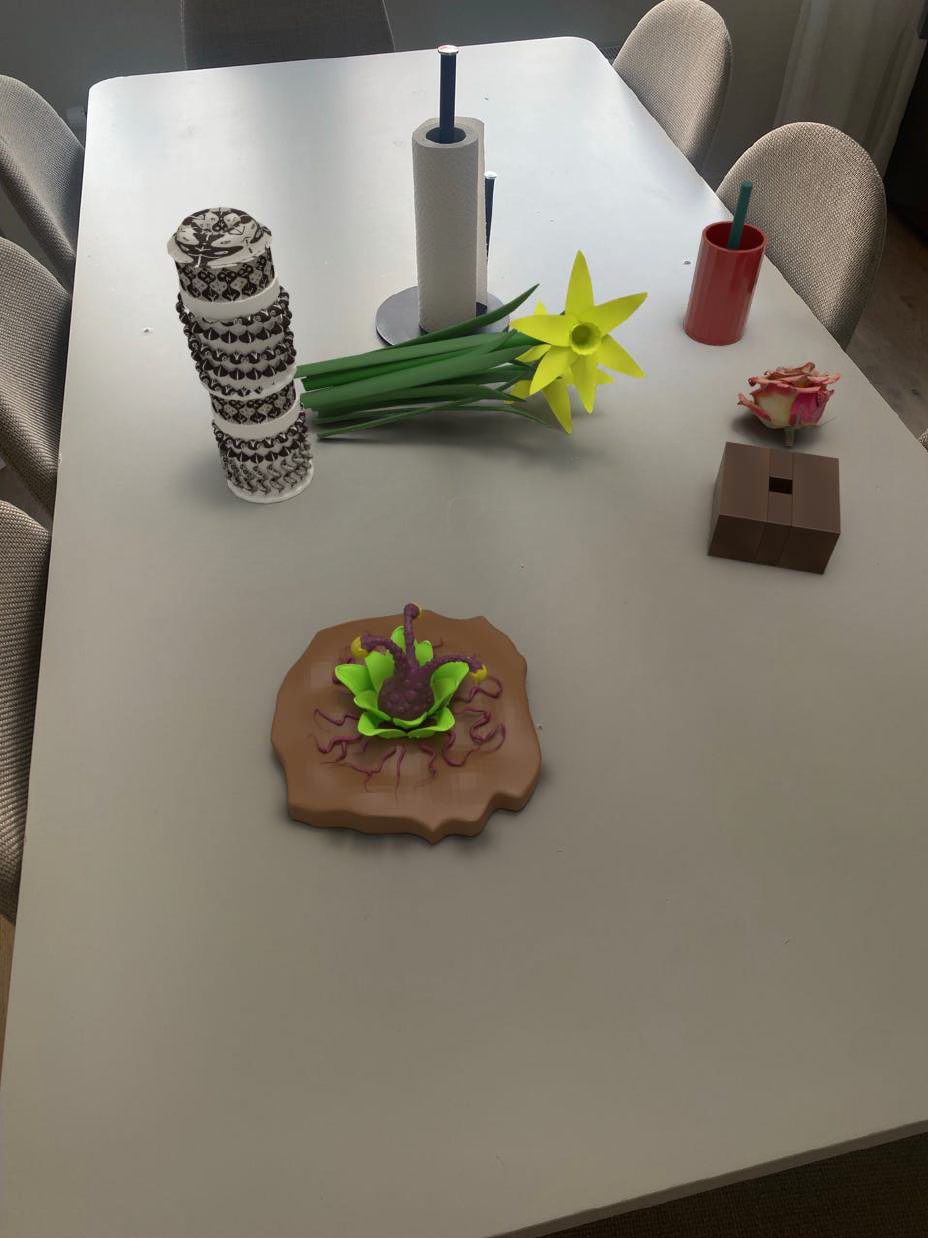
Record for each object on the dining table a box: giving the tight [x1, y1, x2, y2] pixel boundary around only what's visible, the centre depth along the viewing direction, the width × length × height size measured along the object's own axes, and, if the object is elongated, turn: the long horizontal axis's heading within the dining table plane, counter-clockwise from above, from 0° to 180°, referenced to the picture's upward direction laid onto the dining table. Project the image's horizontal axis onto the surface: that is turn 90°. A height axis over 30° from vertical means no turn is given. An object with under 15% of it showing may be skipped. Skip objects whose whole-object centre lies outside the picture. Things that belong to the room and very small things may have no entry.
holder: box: [707, 441, 842, 575], centre depth 82 cm, size 10×10×5 cm
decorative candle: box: [166, 206, 315, 505], centre depth 79 cm, size 9×9×25 cm
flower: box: [736, 361, 842, 447], centre depth 90 cm, size 10×9×8 cm
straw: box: [727, 180, 754, 251], centre depth 98 cm, size 1×1×16 cm
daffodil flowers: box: [293, 249, 649, 439], centre depth 88 cm, size 17×15×35 cm
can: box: [683, 220, 769, 346], centre depth 101 cm, size 7×7×11 cm
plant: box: [270, 602, 542, 845], centre depth 65 cm, size 20×20×11 cm
